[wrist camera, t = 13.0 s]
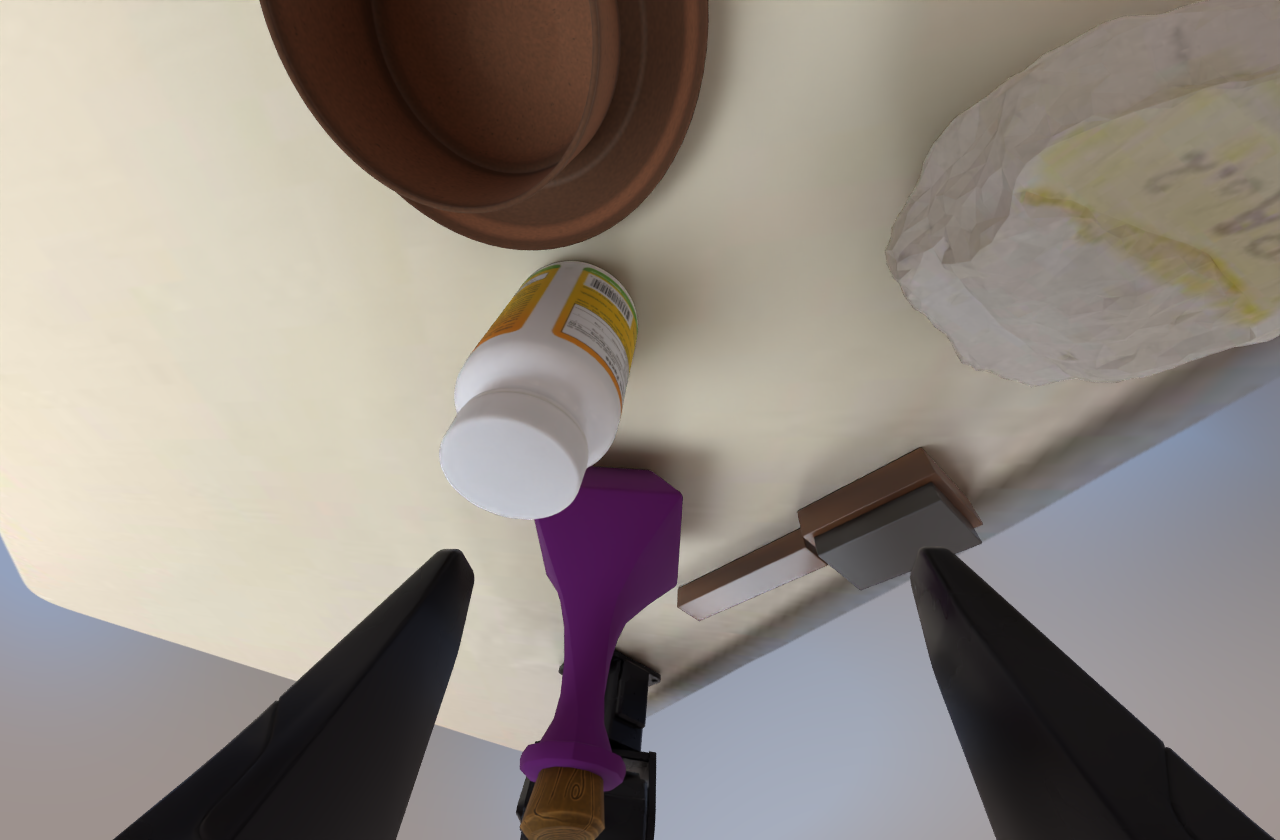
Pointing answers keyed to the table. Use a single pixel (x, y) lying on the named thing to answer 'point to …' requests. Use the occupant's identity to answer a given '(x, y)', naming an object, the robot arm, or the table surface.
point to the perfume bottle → (596, 635)
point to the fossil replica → (1108, 203)
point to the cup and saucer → (502, 103)
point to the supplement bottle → (542, 393)
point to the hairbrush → (850, 536)
